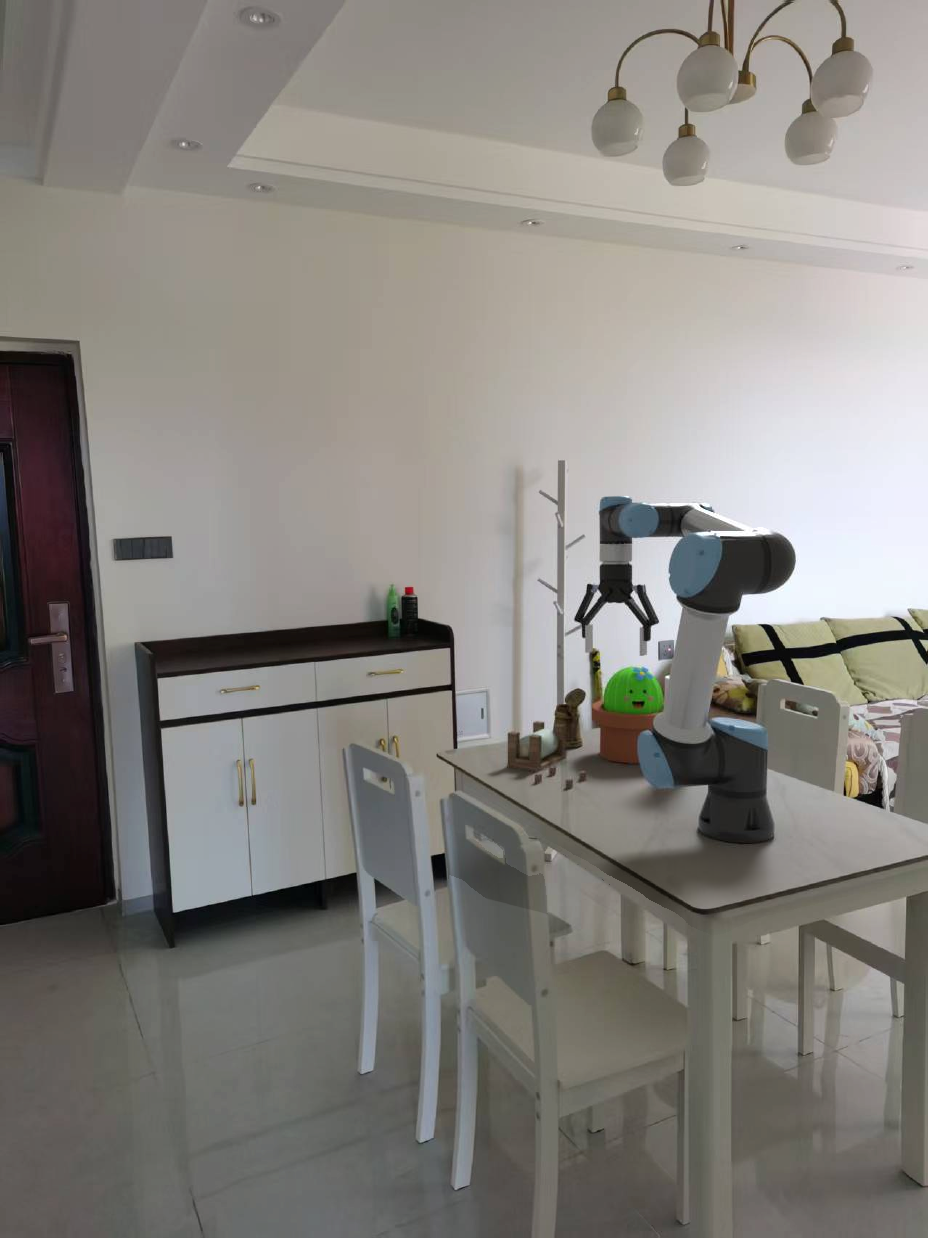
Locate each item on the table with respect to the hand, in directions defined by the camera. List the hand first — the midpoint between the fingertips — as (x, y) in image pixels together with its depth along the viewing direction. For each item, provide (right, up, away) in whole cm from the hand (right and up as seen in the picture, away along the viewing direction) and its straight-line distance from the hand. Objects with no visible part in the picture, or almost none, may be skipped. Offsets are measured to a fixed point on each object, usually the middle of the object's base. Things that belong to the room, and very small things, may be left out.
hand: (615, 653), depth 219 cm
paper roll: (-16, -29, +27) cm, 43 cm away
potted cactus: (+10, -29, +33) cm, 45 cm away
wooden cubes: (-12, -32, +11) cm, 35 cm away
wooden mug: (-6, -28, +43) cm, 52 cm away
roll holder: (-16, -30, +28) cm, 44 cm away
